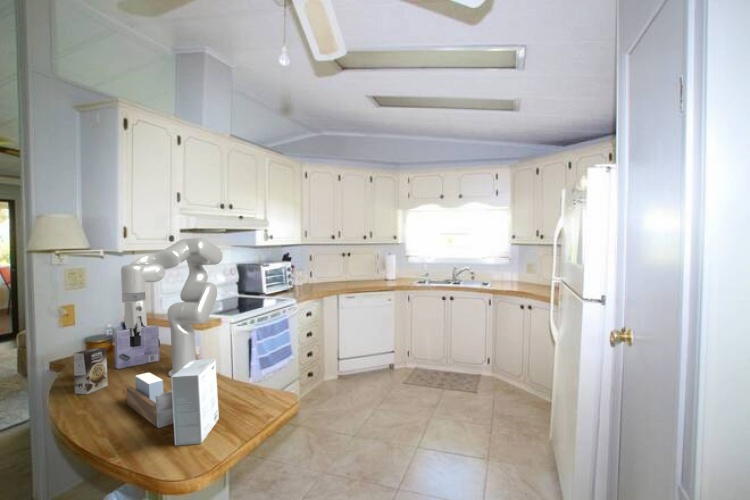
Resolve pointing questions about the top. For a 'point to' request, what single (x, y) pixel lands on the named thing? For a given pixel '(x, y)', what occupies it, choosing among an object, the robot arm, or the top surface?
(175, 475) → the top surface
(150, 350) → the cake pan box
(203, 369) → the hard drive box
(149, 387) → the boxed book
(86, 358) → the coffee box
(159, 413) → the book rack
